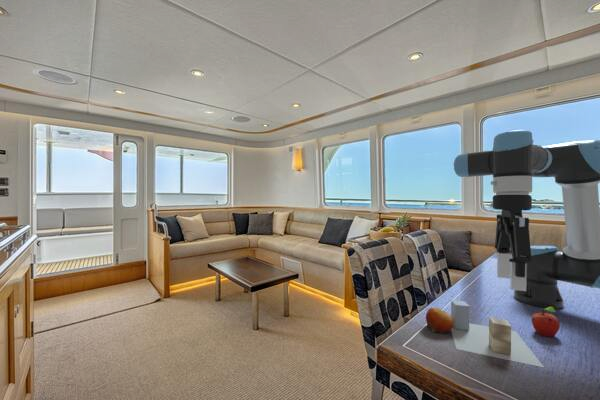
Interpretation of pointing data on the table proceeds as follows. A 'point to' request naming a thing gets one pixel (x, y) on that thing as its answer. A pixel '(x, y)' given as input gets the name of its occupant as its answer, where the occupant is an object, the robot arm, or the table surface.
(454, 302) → the slate block
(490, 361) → the table surface
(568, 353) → the table surface
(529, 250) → the robot arm
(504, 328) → the beech block
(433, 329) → the fruit
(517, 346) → the felt mat
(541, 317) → the apple
